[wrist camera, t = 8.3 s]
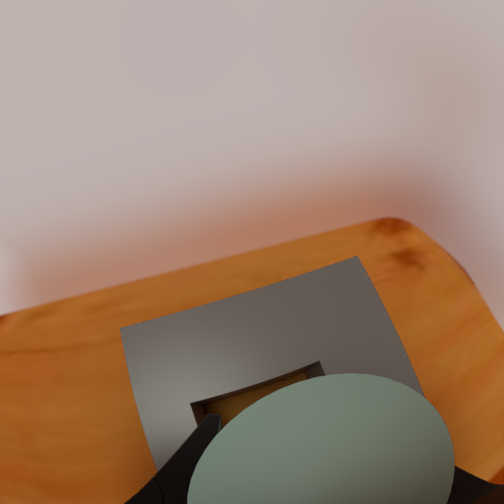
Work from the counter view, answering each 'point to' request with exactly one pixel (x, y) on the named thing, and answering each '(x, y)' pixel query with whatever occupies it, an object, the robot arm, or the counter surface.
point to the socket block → (258, 347)
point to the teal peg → (330, 447)
